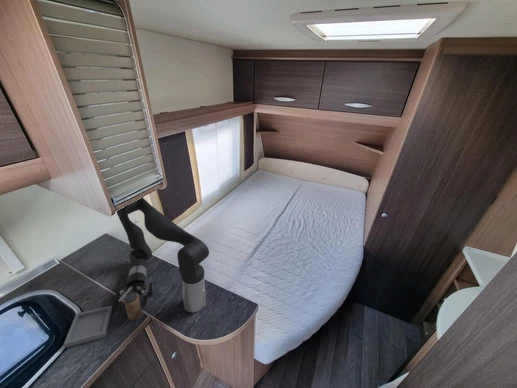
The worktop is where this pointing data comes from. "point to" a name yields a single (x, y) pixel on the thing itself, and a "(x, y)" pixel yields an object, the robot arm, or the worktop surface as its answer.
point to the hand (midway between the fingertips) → (132, 308)
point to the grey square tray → (89, 326)
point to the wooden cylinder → (133, 306)
